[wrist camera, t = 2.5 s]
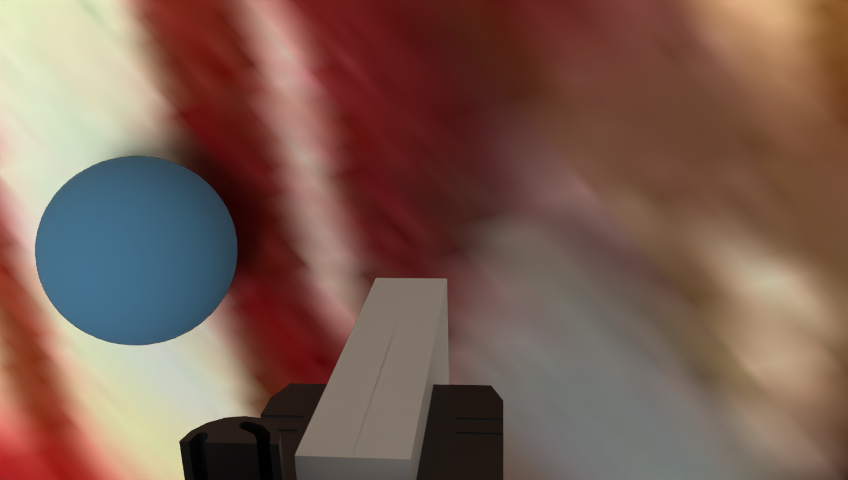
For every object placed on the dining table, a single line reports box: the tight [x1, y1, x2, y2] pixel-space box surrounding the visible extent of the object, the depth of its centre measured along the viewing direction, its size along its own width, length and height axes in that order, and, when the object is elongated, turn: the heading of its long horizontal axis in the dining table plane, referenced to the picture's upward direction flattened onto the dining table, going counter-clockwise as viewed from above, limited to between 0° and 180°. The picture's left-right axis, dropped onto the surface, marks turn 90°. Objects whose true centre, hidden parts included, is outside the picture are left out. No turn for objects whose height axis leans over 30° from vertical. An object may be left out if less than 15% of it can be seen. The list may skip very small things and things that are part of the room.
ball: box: [35, 156, 237, 345], centre depth 24 cm, size 6×6×6 cm
